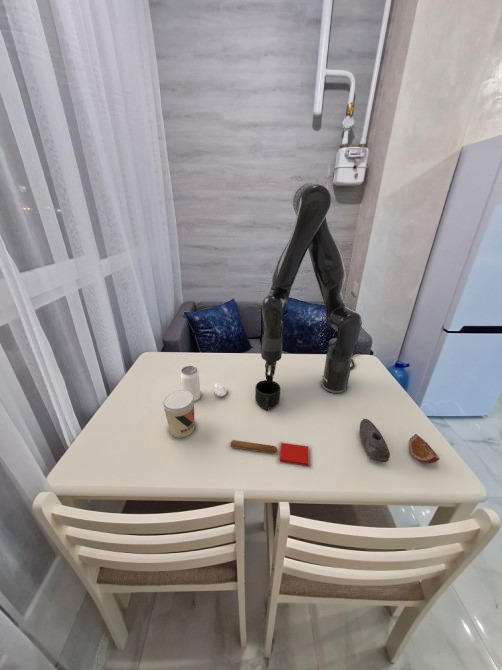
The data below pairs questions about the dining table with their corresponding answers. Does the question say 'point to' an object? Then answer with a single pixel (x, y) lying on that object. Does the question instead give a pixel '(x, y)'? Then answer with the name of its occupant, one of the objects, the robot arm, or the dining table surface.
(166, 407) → the beige lidded canister
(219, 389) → the dumpling
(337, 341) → the robot arm
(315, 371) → the dining table surface
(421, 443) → the fruit slice
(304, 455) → the spatula
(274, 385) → the mug
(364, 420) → the perforated stone tool
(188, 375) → the can
